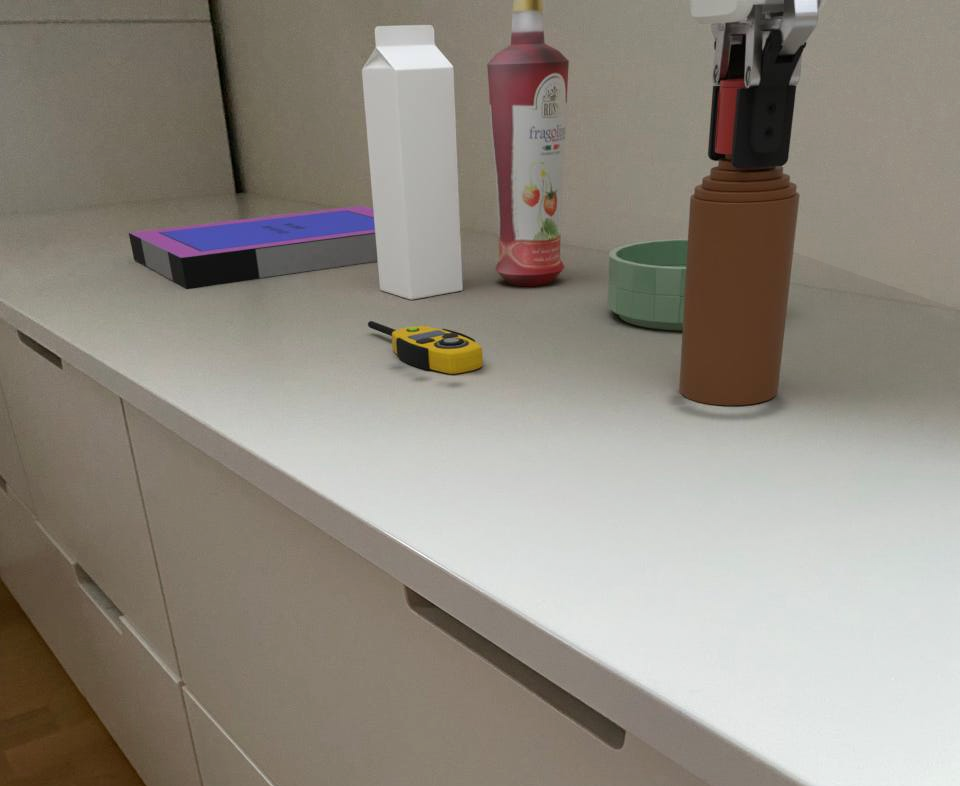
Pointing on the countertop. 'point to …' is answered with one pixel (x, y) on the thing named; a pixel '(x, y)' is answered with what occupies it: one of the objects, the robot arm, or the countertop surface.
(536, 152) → the liquor
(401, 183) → the milk
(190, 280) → the book
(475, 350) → the yellow walkie talkie
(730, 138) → the cap
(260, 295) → the countertop surface
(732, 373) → the bottle
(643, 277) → the bowl
